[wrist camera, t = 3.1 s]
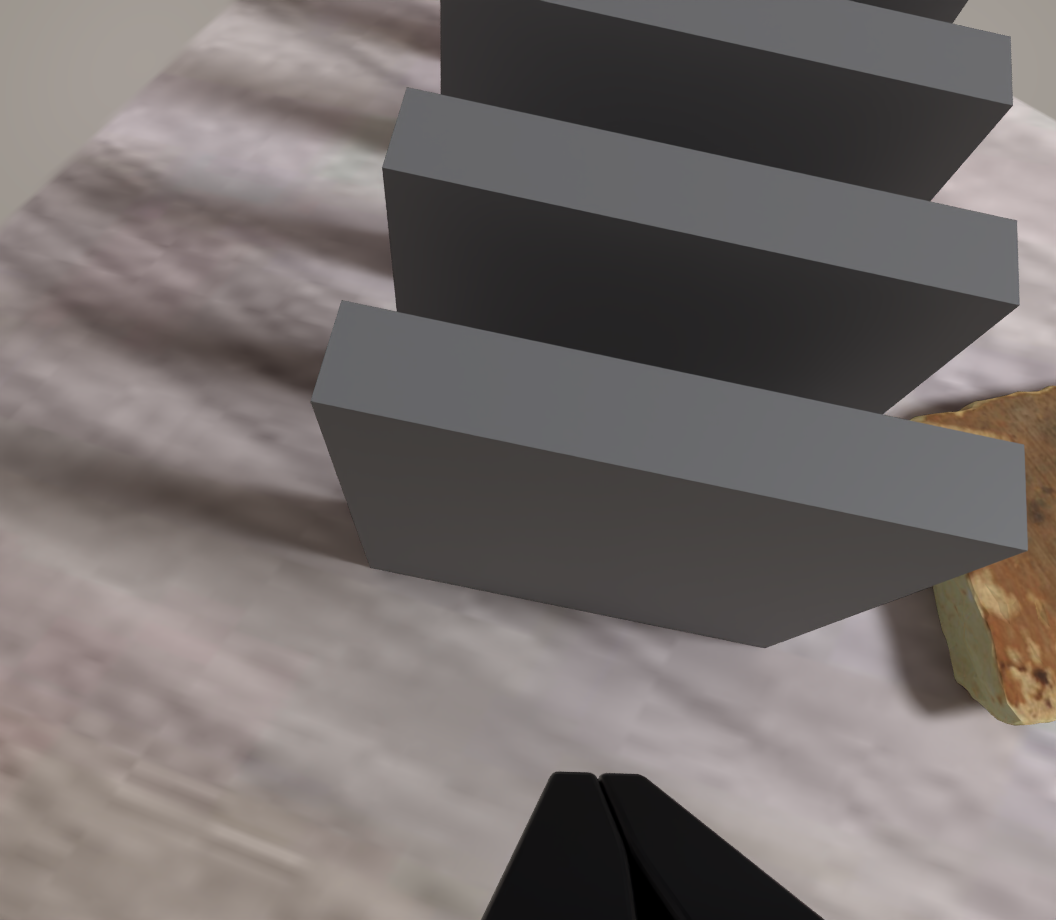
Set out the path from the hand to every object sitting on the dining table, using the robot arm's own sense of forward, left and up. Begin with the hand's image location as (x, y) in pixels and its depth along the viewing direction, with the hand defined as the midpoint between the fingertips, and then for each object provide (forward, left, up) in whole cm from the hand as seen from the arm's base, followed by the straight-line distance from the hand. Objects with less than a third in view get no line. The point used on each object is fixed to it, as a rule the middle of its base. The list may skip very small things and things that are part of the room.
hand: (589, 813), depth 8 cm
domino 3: (+13, -1, -12) cm, 18 cm away
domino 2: (+9, -1, -12) cm, 15 cm away
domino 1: (+5, -1, -12) cm, 13 cm away
